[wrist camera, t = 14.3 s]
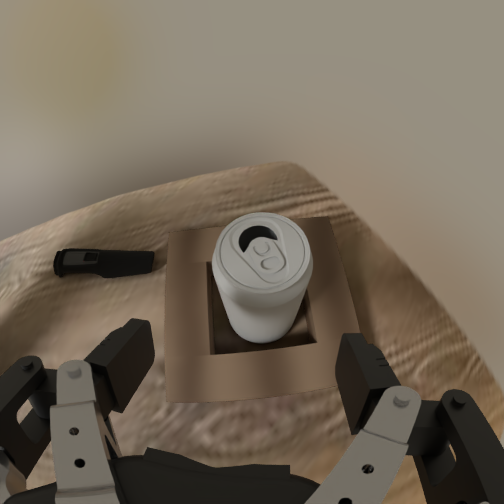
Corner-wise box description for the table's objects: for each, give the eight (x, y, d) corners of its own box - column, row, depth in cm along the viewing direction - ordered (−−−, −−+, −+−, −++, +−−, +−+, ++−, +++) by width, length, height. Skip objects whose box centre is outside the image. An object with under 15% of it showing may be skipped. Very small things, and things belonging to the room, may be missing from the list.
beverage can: (277, 275, 28) (286, 195, 18) (305, 329, 25) (336, 272, 15) (219, 298, 27) (195, 225, 17) (244, 356, 24) (231, 316, 14)
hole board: (176, 402, 22) (166, 402, 19) (176, 247, 31) (169, 232, 28) (358, 381, 22) (369, 377, 20) (322, 232, 31) (327, 216, 28)
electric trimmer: (158, 284, 29) (149, 271, 26) (57, 279, 29) (44, 267, 26) (163, 255, 31) (155, 239, 28) (65, 254, 31) (53, 242, 28)
